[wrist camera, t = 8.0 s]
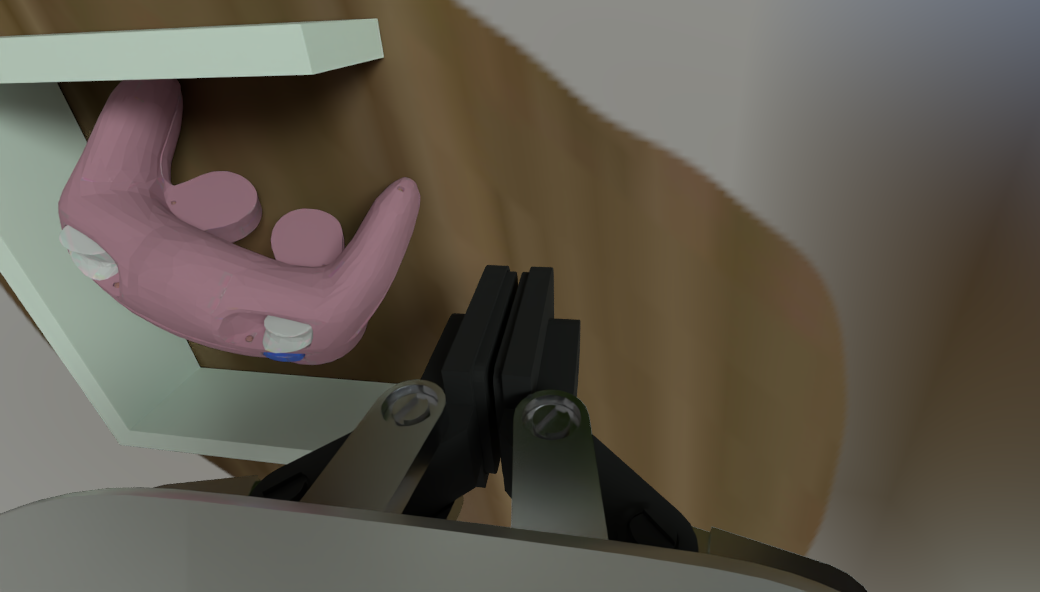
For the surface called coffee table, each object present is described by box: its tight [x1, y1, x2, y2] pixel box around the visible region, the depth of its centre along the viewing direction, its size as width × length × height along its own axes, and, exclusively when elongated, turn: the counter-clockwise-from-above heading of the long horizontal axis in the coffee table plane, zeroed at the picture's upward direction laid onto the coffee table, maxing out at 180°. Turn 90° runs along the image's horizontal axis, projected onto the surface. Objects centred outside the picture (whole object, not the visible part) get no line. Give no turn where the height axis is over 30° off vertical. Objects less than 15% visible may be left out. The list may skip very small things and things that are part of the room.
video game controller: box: [58, 79, 420, 365], centre depth 15 cm, size 10×5×7 cm, turn 68°
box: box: [0, 18, 396, 464], centre depth 17 cm, size 15×13×4 cm
